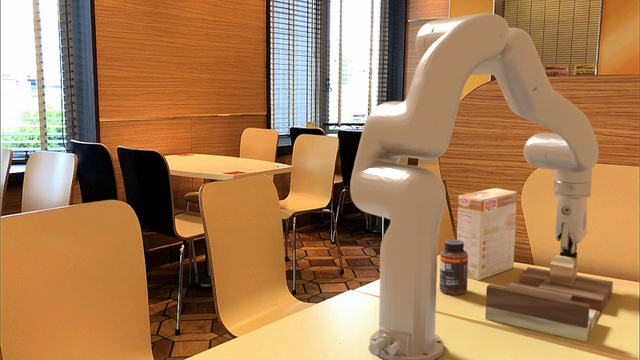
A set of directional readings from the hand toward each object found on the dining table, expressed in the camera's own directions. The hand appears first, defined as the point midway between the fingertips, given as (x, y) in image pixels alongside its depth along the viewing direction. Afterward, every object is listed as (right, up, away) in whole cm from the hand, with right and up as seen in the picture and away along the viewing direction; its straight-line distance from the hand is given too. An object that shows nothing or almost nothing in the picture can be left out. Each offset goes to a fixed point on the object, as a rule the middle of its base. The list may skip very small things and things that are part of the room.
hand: (567, 268), depth 127 cm
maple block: (-2, -2, -3) cm, 4 cm away
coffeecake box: (-15, -3, +13) cm, 20 cm away
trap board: (-7, -6, -10) cm, 13 cm away
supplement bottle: (-26, -5, -1) cm, 26 cm away
